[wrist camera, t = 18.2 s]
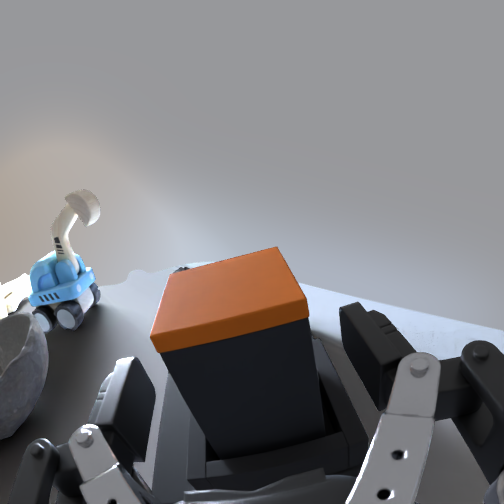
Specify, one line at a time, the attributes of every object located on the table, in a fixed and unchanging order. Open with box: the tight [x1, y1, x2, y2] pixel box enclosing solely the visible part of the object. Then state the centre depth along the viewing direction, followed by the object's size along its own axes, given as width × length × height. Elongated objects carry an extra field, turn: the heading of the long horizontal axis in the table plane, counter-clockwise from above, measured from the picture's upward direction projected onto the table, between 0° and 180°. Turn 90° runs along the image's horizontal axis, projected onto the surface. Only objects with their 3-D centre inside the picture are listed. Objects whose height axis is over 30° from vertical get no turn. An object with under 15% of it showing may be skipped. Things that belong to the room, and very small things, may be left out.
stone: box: [1, 274, 31, 314], centre depth 54 cm, size 21×12×5 cm, turn 67°
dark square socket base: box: [152, 334, 369, 504], centre depth 19 cm, size 12×16×4 cm
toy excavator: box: [28, 189, 101, 333], centre depth 37 cm, size 9×17×17 cm, turn 91°
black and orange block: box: [150, 247, 326, 460], centre depth 14 cm, size 6×6×10 cm
